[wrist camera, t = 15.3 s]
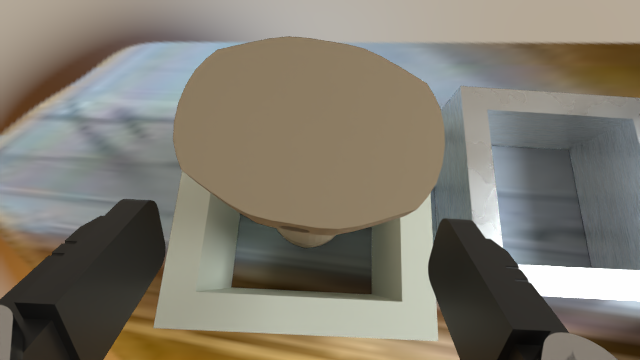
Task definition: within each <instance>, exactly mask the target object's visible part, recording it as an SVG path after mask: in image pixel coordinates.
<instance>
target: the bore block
mask: <svg viewBox="0 0 640 360" xmlns="http://www.w3.org/2000/svg"><path fill="white" fill-rule="evenodd" d="M441 114H442V118H443V123H444V133H445V149H444V156H443V164H442V168H441V171H440V174H439V177H438V180H437V183H436V185H435V186H434V192H435V209H436V227H437V230H438V227H439V224H440V221H441V220H442V219H444V218H449V219H466V220H472V221H474V223H475V224H476V225H477V227H478V228H479V230H480V231H481V232H482V234H483V235H484V237H485V238H486V239H492V240H493V241H494V242H496V243H497V244H498V245H500V246H501V247H502V248H503V243H502V234H501V226H500V217H499V208H498V200H497V191H496V182H495V174H494V165H493V156H492V148H491V145H495V146H512V147H528V148H544V149H561V150H569V152H570V157H571V162H572V168H573V173H574V178H575V183H576V189H577V194H578V199H579V204H580V210H581V215H582V220H583V225H584V231H585V236H586V241H587V247H588V252H589V257H590V262H591V268H575V267H556V266H536V265H518V266H519V270H522V271H523V273H524V274H525V275H526V277H527V278H528V279H529V280H528V281H529V283H532V284H533V286H534V287H535V288H536V290H537V291H538V292H539V294H540V295H541V296H551V297H571V298H591V299H611V300H631V301H640V98H632V97H617V96H602V95H587V94H572V93H557V92H541V91H526V90H511V89H496V88H481V87H466V86H460V87H459V89H458V90H457V91H456V92H455V94H454V95H453V96H452V97H451V99H450V100H449V101H448V102H447V104H446V105H445V106H444V107H443V109H442V110H441Z"/></svg>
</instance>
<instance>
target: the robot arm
mask: <svg viewBox="0 0 640 360" xmlns="http://www.w3.org/2000/svg"><path fill="white" fill-rule="evenodd" d="M164 257H165V241H164V236H163V231H162V226H161V221H160V216H159V211H158V207H157V204H156V203H155V202H154V201H151V200H135V199H123V200H121V201H120V202H118V203H117V204H116V205H115V206H114V207H113V208H112V209H111V210H110V211H109V212H108V213H107V214H106V215H105V216H100V217H98V218H96V219H94V220H92V221H90V222H89V223H87V224H85V225H83V226H81V227H80V228H79V229H77V230H76V231H75V232H74V233H73V234H72V235H71V236H70V237H69V238H68V239H66V240H65V244H61V245H60V246H59V247H58V248H57V249H55V250H54V251H53V252H52V255H51V256H48V257H47V258H45V259H44V260H43V261H42V262H41V263H40V264H39V265H38V266H37V267H36V268H34V269H33V270H32V271H31V272H30V273H29V274H28V275H27V276H26V277H25V278H23V279H22V280H21V281H20V282H19V283H18V284H17V285H16V286H15V287H13V288H12V289H11V290H10V291H9V292H8V293H7V294H6V295H5V296H4V297H2V298H1V299H0V360H103V359H104V358H105V356H106V355H107V353H108V351H109V350H110V348H111V346H112V345H113V343H114V342H115V340H116V338H117V337H118V335H119V334H120V332H121V330H122V329H123V327H124V326H125V324H126V322H127V321H128V319H129V318H130V316H131V314H132V313H133V311H134V310H135V308H136V306H137V305H138V303H139V302H140V300H141V298H142V297H143V295H144V293H145V292H146V290H147V289H148V287H149V285H150V284H151V282H152V281H153V279H154V277H155V276H156V274H157V273H158V271H159V269H160V268H161V266H162V264H163V261H164ZM428 276H429V281H430V284H431V286H432V289H433V291H434V294H435V296H436V299H437V302H438V304H439V307H440V309H441V312H442V314H443V317H444V319H445V322H446V325H447V327H448V330H449V332H450V335H451V337H452V340H453V342H454V345H455V348H456V350H457V353H458V355H459V358H460V360H617V359H616V358H615V357H614V356H613V355H612V354H610V353H609V352H608V351H606V350H605V349H604V348H602V347H600V346H599V345H597V344H596V343H594V342H592V341H590V340H588V339H585V338H583V337H581V336H578V335H575V334H570V333H569V332H568V331H567V329H566V328H565V327H564V325H563V324H562V323H561V321H560V320H559V319H558V317H557V316H556V315H555V313H554V312H553V311H552V309H551V308H550V307H549V306H548V304H547V303H546V302H545V300H544V299H543V298H542V296H541V295H540V294H539V292H538V291H537V290H536V288H535V287H534V286H533V284H532V283H529V281H528V280H529V279H528V278H527V277H526V275H525V274H524V273H523V271H522V270H519V266H518V265H517V263H516V262H515V261H514V259H513V258H512V257H511V255H510V254H509V253H508V252H507V251H506V250H505V249H503V248H502V247H501V246H500V245H498V244H497V243H496V242H494V241H493V240H492V239H486V238H485V237H484V235H483V234H482V232H481V231H480V230H479V228H478V227H477V225H476V224H475V223H474V221H472V220H466V219H449V218H444V219H442V220H441V221H440V224H439V227H438V230H437V233H436V237H435V240H434V244H433V247H432V251H431V254H430V258H429V262H428Z"/></svg>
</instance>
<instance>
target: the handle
mask: <svg viewBox="0 0 640 360" xmlns="http://www.w3.org/2000/svg"><path fill="white" fill-rule="evenodd" d="M173 142H174V147H175V152H176V156H177V159H178V162H179V165H180V167H181V170H182V171H183V172H184V173H186V174H187V175H188V176H189V177H190V178H192V179H193V180H194V181H195V182H197V183H198V184H199V185H201V186H202V187H203V188H205V189H206V190H207V191H209V192H210V193H211V194H213V195H214V196H216V197H217V198H218V199H220V200H221V201H223V202H224V203H225V204H227V205H228V206H230V207H231V208H233V209H234V210H236V211H237V212H239V213H241V214H242V215H244V216H246V217H247V218H249V219H251V220H252V221H254V222H256V223H258V224H262V225H265V226H269V227H273V228H276V229H277V230H278V232H279V233H280V234H281V235H282V236H283V237H284V238H285V239H286V240H288V241H289V242H291V243H292V244H294V245H297V246H300V247H302V248H312V247H317V246H320V245H323V244H325V243H327V242H328V241H330V240H331V239H332V238H334V237H335V236H336V235H339V234H343V233H348V232H353V231H357V230H361V229H364V228H368V227H372V226H375V225H378V224H382V223H385V222H388V221H391V220H394V219H397V218H400V217H404V216H406V215H408V214H410V213H412V212H413V211H415V210H416V209H418V208H419V207H420V206H421V204H422V203H423V202H424V201H425V200H426V198H427V197H428V196H429V194H430V193H431V191H432V189H433V188H434V186H435V185H436V183H437V180H438V177H439V174H440V171H441V168H442V164H443V156H444V149H445V133H444V123H443V118H442V114H441V109H440V107H439V105H438V102H437V100H436V98H435V96H434V94H433V93H432V91H431V89H430V88H429V86H428V85H427V83H425V82H424V81H422V80H420V79H419V78H417V77H416V76H414V75H412V74H411V73H409V72H407V71H406V70H404V69H402V68H401V67H399V66H397V65H395V64H394V63H392V62H390V61H389V60H387V59H385V58H383V57H382V56H379V55H377V54H375V53H373V52H370V51H368V50H366V49H364V48H360V47H356V46H352V45H348V44H342V43H336V42H330V41H324V40H317V39H311V38H302V37H279V38H269V39H264V40H260V41H254V42H249V43H245V44H240V45H236V46H232V47H227V48H223V49H218V50H217V51H215V52H214V53H213V54H212V55H210V56H209V57H208V58H206V59H205V60H204V62H203V63H202V64H201V65H200V66H199V67H198V68H197V69H196V70H195V71H194V73H193V74H192V76H191V78H190V79H189V81H188V82H187V84H186V86H185V88H184V91H183V93H182V95H181V98H180V100H179V102H178V107H177V111H176V115H175V120H174V133H173Z"/></svg>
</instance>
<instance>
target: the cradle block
mask: <svg viewBox="0 0 640 360" xmlns="http://www.w3.org/2000/svg"><path fill="white" fill-rule="evenodd" d="M239 220H240V213H239V212H237V211H236V210H234V209H233V208H231V207H230V206H228V205H227V204H225V203H224V202H223V201H221V200H220V199H218V198H217V197H216V196H214V195H213V194H211V193H210V192H209V191H207V190H206V189H205V188H203V187H202V186H201V185H199V184H198V183H197V182H195V181H194V180H193V179H192V178H190V177H189V176H188V175H187V174H186V173H184V172H183V171H182V174H181V179H180V185H179V190H178V196H177V201H176V207H175V212H174V218H173V223H172V229H171V234H170V240H169V245H168V251H167V256H166V262H165V267H164V273H163V278H162V284H161V289H160V295H159V300H158V306H157V311H156V317H155V322H154V328H164V329H186V330H207V331H229V332H251V333H273V334H294V335H316V336H338V337H360V338H381V339H403V340H425V341H438V328H437V309H436V296H435V294H434V291H433V289H432V286H431V284H430V281H429V276H428V262H429V258H430V254H431V251H432V247H433V234H432V215H431V196H430V194H429V196H428V197H427V198H426V200H425V201H424V202H423V203H422V204H421V206H420V207H419V208H418V209H416V210H415V211H413V212H412V213H410V214H408V215H406V216H404V217H400V218H397V219H394V220H391V221H388V222H385V223H382V224H378V225H375V226H372V294H354V293H334V292H313V291H293V290H273V289H253V288H232V287H231V286H232V278H233V269H234V261H235V253H236V245H237V237H238V228H239Z"/></svg>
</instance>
